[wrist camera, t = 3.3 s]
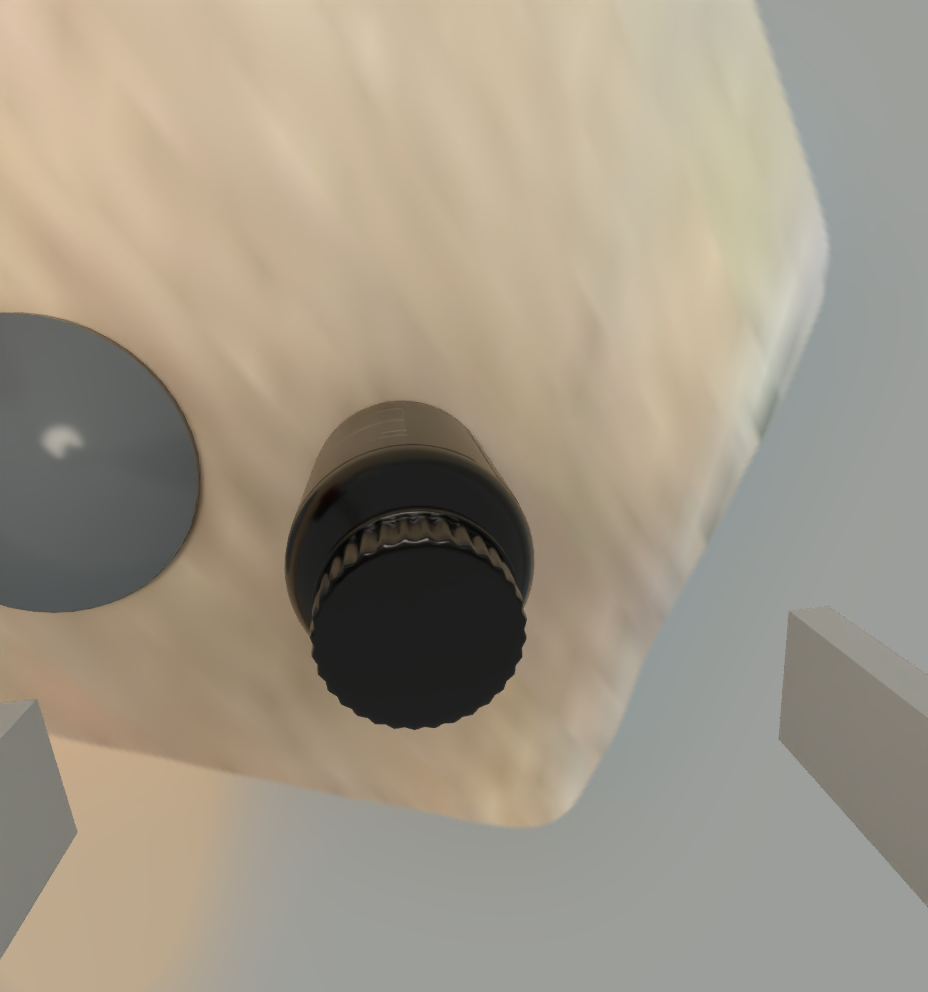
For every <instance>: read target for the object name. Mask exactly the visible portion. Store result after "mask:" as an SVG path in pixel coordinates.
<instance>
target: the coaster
mask: <svg viewBox="0 0 928 992" xmlns="http://www.w3.org/2000/svg"><path fill="white" fill-rule="evenodd" d="M199 493H200V469H199V461H198V454H197V450H196V447H195V443H194V439H193V436H192V433H191V431H190V428H189V426H188V424H187V421H186V419H185V417H184V415H183V413H182V411H181V410H180V408H179V406H178V404H177V403H176V401H175V399H174V398H173V396H172V395H171V394H170V392H169V391H168V390H167V388H166V387H165V386H164V384H163V383H162V382H161V381H160V380H159V379H158V377H157V376H156V375H155V374H154V373H153V372H152V371H151V370H150V369H149V368H148V367H147V366H146V365H145V364H144V363H142V362H141V361H140V360H139V359H138V358H136V357H135V356H134V355H133V354H132V353H130V352H129V351H128V350H126V349H125V348H123V347H122V346H120V345H119V344H117V343H116V342H114V341H112V340H111V339H109V338H107V337H105V336H103V335H101V334H99V333H97V332H95V331H93V330H91V329H89V328H87V327H84V326H81V325H78V324H76V323H73V322H70V321H67V320H63V319H59V318H55V317H51V316H47V315H39V314H30V313H0V605H3V606H7V607H10V608H15V609H21V610H27V611H33V612H51V613H56V612H74V611H79V610H85V609H91V608H95V607H98V606H102V605H105V604H109V603H112V602H114V601H116V600H118V599H121V598H123V597H125V596H127V595H129V594H131V593H133V592H134V591H136V590H137V589H139V588H141V587H142V586H144V585H145V584H146V583H148V582H149V581H150V580H151V579H152V578H154V577H155V576H156V575H157V574H158V573H159V572H160V571H161V570H162V569H163V568H164V567H165V566H166V565H167V564H168V562H169V561H170V560H171V559H172V558H173V557H174V555H175V554H176V553H177V551H178V550H179V548H180V547H181V545H182V544H183V542H184V541H185V539H186V537H187V534H188V532H189V530H190V528H191V526H192V523H193V520H194V517H195V514H196V511H197V506H198V500H199Z"/></svg>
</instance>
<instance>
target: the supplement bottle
mask: <svg viewBox="0 0 928 992" xmlns="http://www.w3.org/2000/svg"><path fill="white" fill-rule="evenodd" d="M533 575H534V548H533V541H532V536H531V532H530V529H529V526H528V523H527V521H526V518H525V516H524V514H523V511H522V509H521V507H520V505H519V503H518V502H517V500H516V498H515V497H514V495H513V494H512V492H511V491H510V489H509V488H508V486H507V485H506V483H505V482H504V480H503V479H502V477H501V476H500V474H499V473H498V471H497V470H496V468H495V467H494V465H493V464H492V462H491V461H490V459H489V458H488V456H487V455H486V453H485V452H484V450H483V449H482V447H481V446H480V444H479V443H478V441H477V440H476V439H475V437H474V436H473V435H472V434H471V432H470V431H469V430H468V429H467V428H466V427H465V426H464V425H463V424H462V423H460V422H459V421H458V420H457V419H455V418H454V417H452V416H451V415H449V414H448V413H446V412H444V411H442V410H440V409H438V408H435V407H433V406H430V405H427V404H423V403H418V402H411V401H393V402H386V403H380V404H377V405H374V406H371V407H368V408H366V409H363V410H361V411H359V412H357V413H356V414H354V415H353V416H351V417H349V418H348V419H347V420H346V421H344V422H343V423H342V424H341V425H340V426H339V427H338V428H337V429H336V430H335V431H334V432H333V433H332V434H331V436H330V437H329V438H328V440H327V441H326V443H325V444H324V446H323V448H322V450H321V451H320V453H319V456H318V458H317V460H316V463H315V465H314V468H313V470H312V473H311V476H310V478H309V481H308V484H307V486H306V489H305V492H304V494H303V497H302V500H301V502H300V505H299V508H298V510H297V513H296V516H295V518H294V521H293V524H292V527H291V530H290V534H289V537H288V542H287V548H286V554H285V580H286V586H287V591H288V595H289V598H290V602H291V605H292V607H293V609H294V612H295V614H296V616H297V618H298V620H299V622H300V623H301V625H302V626H303V628H304V629H305V631H306V632H307V634H308V635H309V636H310V639H311V641H312V644H313V645H312V651H311V654H312V657H313V659H314V660H315V662H316V663H317V671H318V675H319V676H320V677H321V678H322V679H323V680H325V681H326V685H327V689H328V691H329V692H331V693H332V694H334V695H336V696H337V697H338V699H339V701H340V703H341V704H342V705H344V706H346V707H349V708H351V709H352V710H353V711H354V713H355V714H356V715H357V716H360V717H365V718H368V719H370V720H371V721H372V722H373V723H375V724H386V725H388V726H390V727H392V728H394V729H397V728H402V727H406V728H409V729H413V730H416V729H420V728H422V727H430V728H436V727H438V726H440V725H441V724H444V723H455V722H456V721H458V720H459V719H460V718H462V717H464V716H469V715H473V714H474V713H475V712H476V711H477V709H478V708H479V707H482V706H484V705H487V704H489V703H490V702H491V700H492V699H493V697H494V695H496V694H498V693H499V692H501V691H502V690H503V689H504V687H505V684H506V681H507V680H509V679H510V678H511V677H512V676H513V675H514V674H515V667H516V664H517V663H518V662H519V661H520V659H521V658H522V646H523V645H524V643H525V641H526V633H525V629H524V628H525V625H526V621H527V617H526V614H525V612H524V610H523V609H524V607H525V604H526V602H527V599H528V596H529V593H530V590H531V586H532V581H533Z"/></svg>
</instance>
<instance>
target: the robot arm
mask: <svg viewBox="0 0 928 992" xmlns="http://www.w3.org/2000/svg"><path fill="white" fill-rule="evenodd" d="M779 740H780V741H781V742H782V743H783V744H784V745H785V747H786V748H787V749H788V750H789V751H790V752H791V753H792V754H793V756H794V757H795V758H796V759H797V760H798V761H799V762H800V764H801V765H802V766H803V767H804V768H805V769H806V770H807V771H808V773H809V774H810V775H811V776H812V777H813V778H814V779H815V780H816V782H817V783H818V784H819V785H820V786H821V787H822V788H823V789H824V791H825V792H826V793H827V794H828V795H829V796H830V797H831V798H832V800H833V801H834V802H835V803H836V804H837V805H838V806H839V807H840V809H841V810H842V811H843V812H844V813H845V814H846V815H847V817H848V818H849V819H850V820H851V821H852V822H853V823H854V824H855V825H856V827H857V828H858V829H859V830H860V831H861V832H862V833H863V835H864V836H865V837H866V838H867V839H868V840H869V841H870V842H871V844H872V845H873V846H874V847H875V848H876V849H877V850H878V851H879V853H880V854H881V855H882V856H883V857H884V858H885V859H886V861H887V862H888V863H889V864H890V865H891V866H892V867H893V868H894V870H895V871H896V872H897V873H898V874H899V875H900V876H901V877H902V878H903V880H904V881H905V882H906V883H907V884H908V885H909V886H910V888H911V889H912V890H913V891H914V892H915V893H916V894H917V895H918V897H919V898H920V899H921V900H922V901H923V902H924V903H925V904H926V905H927V907H928V674H927V673H925V672H924V671H922V670H921V669H919V668H918V667H916V666H915V665H914V664H912V663H911V662H909V661H908V660H906V659H905V658H904V657H902V656H900V655H899V654H898V653H896V652H895V651H893V650H892V649H890V648H889V647H888V646H886V645H885V644H883V643H882V642H880V641H879V640H877V639H876V638H875V637H873V636H872V635H870V634H869V633H867V632H866V631H864V630H863V629H862V628H860V627H858V626H857V625H856V624H854V623H853V622H851V621H850V620H848V619H847V618H846V617H844V616H842V615H841V614H840V613H838V612H836V611H835V610H834V609H832V608H831V607H829V606H825V607H816V608H807V609H799V610H790V611H789V615H788V628H787V640H786V653H785V666H784V680H783V691H782V703H781V717H780V729H779ZM76 834H77V829H76V826H75V823H74V819H73V816H72V813H71V809H70V806H69V803H68V800H67V796H66V793H65V790H64V786H63V783H62V780H61V776H60V773H59V770H58V767H57V763H56V760H55V757H54V754H53V750H52V747H51V744H50V740H49V737H48V734H47V730H46V727H45V724H44V720H43V717H42V714H41V711H40V707H39V704H38V701H37V699H32V700H23V701H15V702H6V703H0V959H1V957H2V956H3V954H4V952H5V951H6V949H7V948H8V946H9V944H10V943H11V941H12V939H13V938H14V936H15V934H16V932H17V931H18V929H19V928H20V926H21V924H22V923H23V921H24V920H25V918H26V916H27V914H28V913H29V911H30V910H31V908H32V906H33V905H34V903H35V901H36V900H37V898H38V896H39V895H40V893H41V892H42V890H43V888H44V887H45V885H46V883H47V881H48V880H49V878H50V877H51V875H52V873H53V872H54V870H55V868H56V867H57V865H58V864H59V862H60V860H61V858H62V857H63V855H64V854H65V852H66V850H67V849H68V847H69V845H70V844H71V842H72V840H73V839H74V837H75V835H76Z"/></svg>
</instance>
